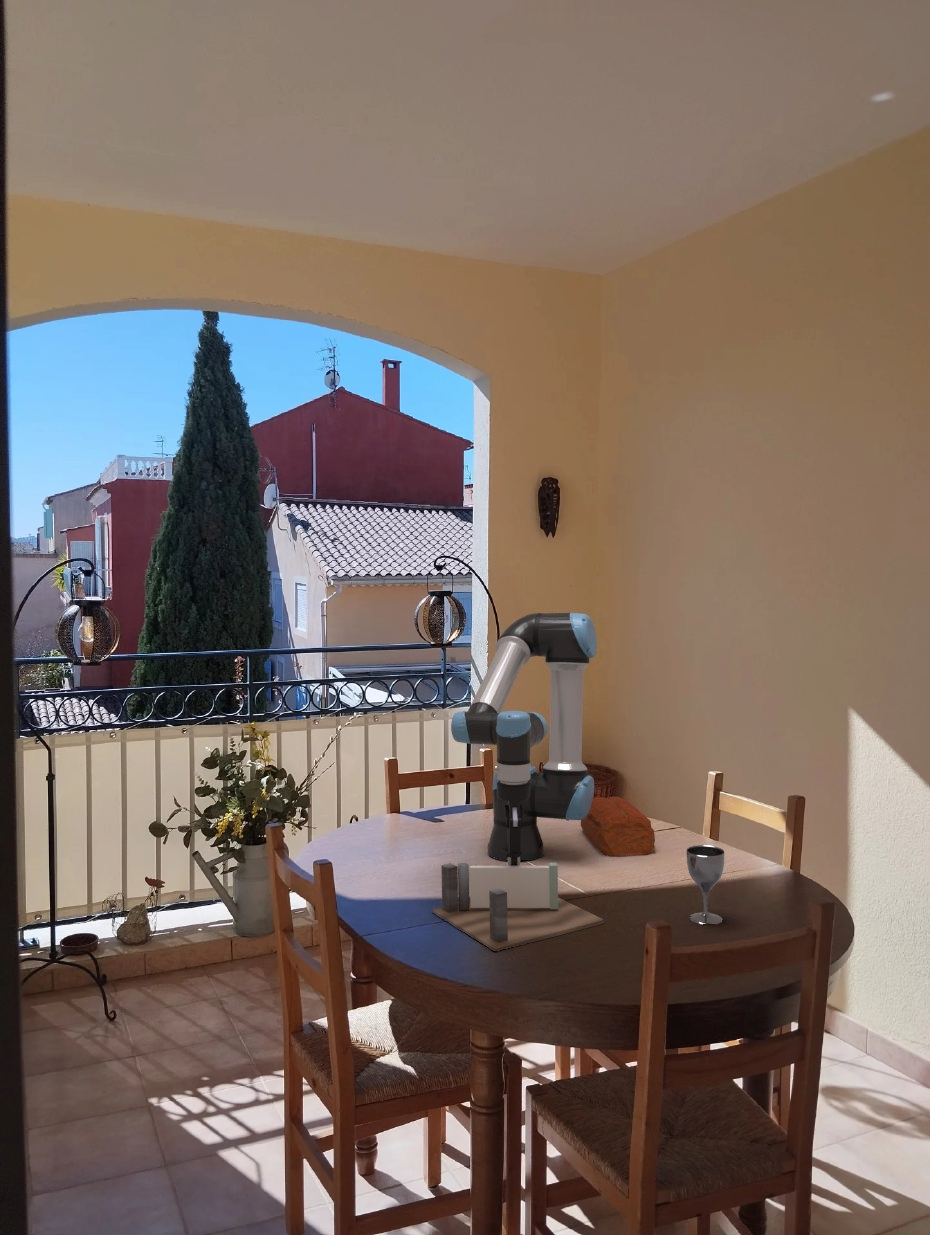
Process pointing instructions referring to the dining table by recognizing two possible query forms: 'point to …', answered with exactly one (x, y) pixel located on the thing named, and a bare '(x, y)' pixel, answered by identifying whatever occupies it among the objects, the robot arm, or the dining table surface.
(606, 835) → the bread
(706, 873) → the wine glass
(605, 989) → the dining table surface
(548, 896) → the gate
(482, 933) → the gate frame
